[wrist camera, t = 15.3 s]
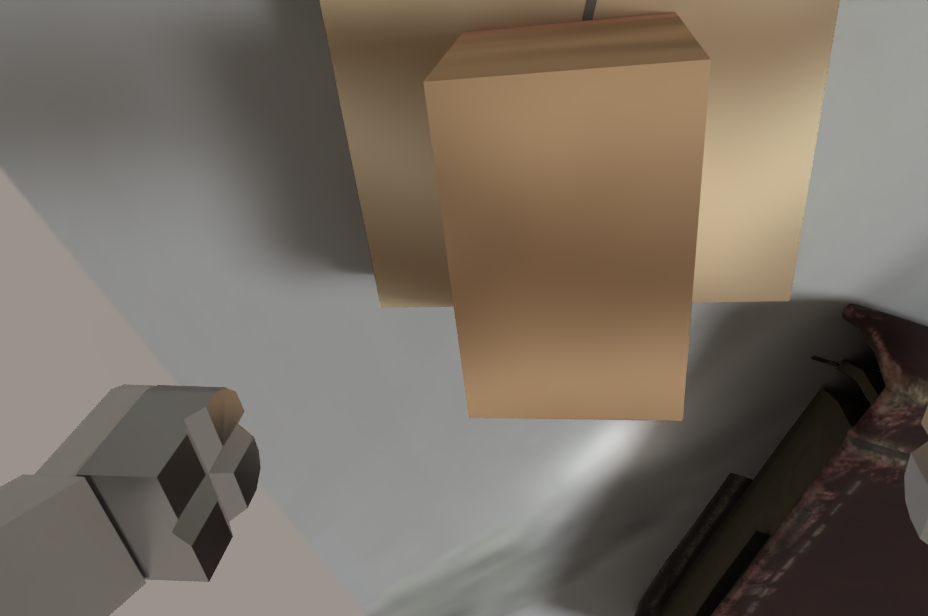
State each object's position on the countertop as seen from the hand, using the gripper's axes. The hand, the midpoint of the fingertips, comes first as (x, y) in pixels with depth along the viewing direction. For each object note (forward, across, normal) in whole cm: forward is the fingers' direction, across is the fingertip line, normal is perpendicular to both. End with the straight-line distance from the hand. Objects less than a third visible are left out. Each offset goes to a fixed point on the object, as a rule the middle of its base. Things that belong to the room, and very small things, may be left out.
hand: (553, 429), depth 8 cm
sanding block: (+11, 0, +1) cm, 11 cm away
